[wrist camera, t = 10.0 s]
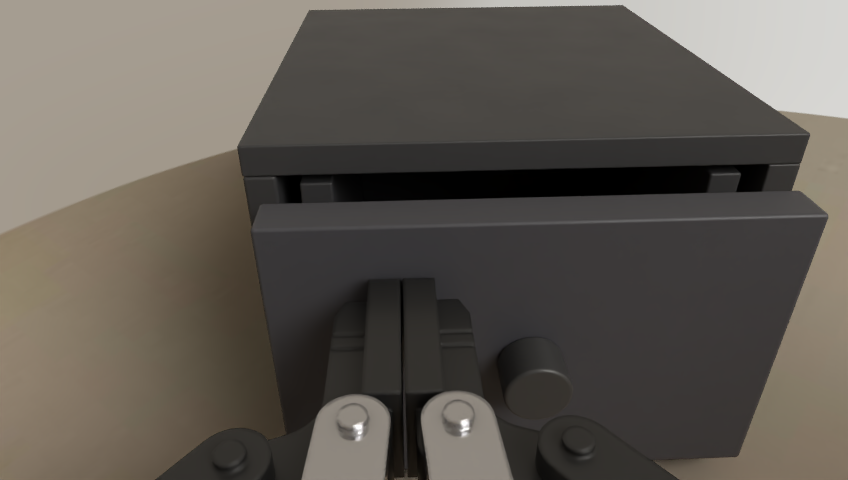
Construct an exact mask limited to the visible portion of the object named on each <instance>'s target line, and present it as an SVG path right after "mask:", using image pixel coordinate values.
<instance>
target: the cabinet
mask: <svg viewBox="0 0 848 480" xmlns="http://www.w3.org/2000/svg"><path fill="white" fill-rule="evenodd" d="M809 137H810V133H809V132H807V131H806V130H804V129H803V128H801V127H800V126H798V125H797V124H795V123H794V122H792V121H791V120H790V119H788V118H787V117H785V116H784V115H782V114H781V113H779V112H778V111H776V110H775V109H773V108H772V107H771V106H769V105H768V104H766V103H765V102H763V101H762V100H760V99H759V98H757V97H756V96H754V95H753V94H752V93H750V92H749V91H747V90H746V89H744V88H743V87H741V86H740V85H738V84H737V83H735V82H734V81H732V80H731V79H730V78H728V77H727V76H725V75H724V74H722V73H721V72H719V71H718V70H716V69H715V68H713V67H712V66H711V65H709V64H707V63H706V62H705V61H703V60H702V59H700V58H699V57H697V56H696V55H695V54H693V53H692V52H690V51H689V50H687V49H686V48H684V47H683V46H681V45H680V44H678V43H677V42H675V41H674V40H673V39H671V38H670V37H668V36H667V35H665V34H663V33H662V32H661V31H659V30H658V29H657V28H655V27H654V26H652V25H650V24H649V23H648V22H646V21H645V20H643V19H642V18H641V17H639V16H638V15H636V14H635V13H633V12H632V11H630V10H629V9H627V8H626V7H624V6H623V5H616V6H554V7H553V6H552V7H551V6H550V7H495V8H494V7H491V8H488V7H487V8H426V9H425V8H424V9H365V10H363V9H361V10H309V12H308V13H307V16H306V17H305V19H304V21H303V23H302V25H301V27H300V29H299V31H298V33H297V34H296V36H295V38H294V40H293V42H292V44H291V46H290V48H289V50H288V51H287V53H286V55H285V57H284V59H283V61H282V63H281V65H280V67H279V69H278V71H277V73H276V74H275V76H274V78H273V80H272V82H271V84H270V86H269V88H268V90H267V91H266V94H265V95H264V97H263V99H262V101H261V103H260V105H259V107H258V109H257V110H256V112H255V114H254V116H253V118H252V120H251V122H250V124H249V126H248V128H247V129H246V131H245V133H244V135H243V137H242V139H241V141H240V143H239V145H238V147H237V148H238V154H239V160H240V166H241V171H242V175H243V176H244V179H243V180H244V186H245V192H246V197H247V203H248V209H249V214H250V220H251V226H253V223H254V220H255V218H256V215H257V212H258V210H259V207H260V205H262V204H288V203H302V199H301V191H300V182H301V179H302V175H330V174H372V173H414V172H457V171H499V170H541V169H583V168H625V167H668V166H710V165H733V166H734V167H735V168H736V169H737V170H738V171H739V172H740V173H741V176H740V179H739V183H738V187H737V190H736V192H767V191H792V188H793V185H794V182H795V179H796V176H797V173H798V170H799V167H800V164H799V163H801V161H802V158H803V155H804V152H805V149H806V146H807V143H808V140H809Z"/></svg>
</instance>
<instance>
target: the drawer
mask: <svg viewBox="0 0 848 480" xmlns="http://www.w3.org/2000/svg"><path fill="white" fill-rule="evenodd" d="M740 176H741V173H740V172H739V171H738V170H737V169H736V168H735V167H734V166H733V165H710V166H668V167H625V168H583V169H541V170H499V171H457V172H414V173H372V174H330V175H302V179H301V182H300V191H301V199H302V203H288V204H262V205H260V207H259V210H258V212H257V215H256V218H255V220H254V223H253V226H252V228H251V237H252V243H253V248H254V254H255V260H256V265H257V271H258V277H259V283H260V288H261V294H262V300H263V305H264V311H265V317H266V322H267V328H268V334H269V339H270V345H271V351H272V356H273V362H274V368H275V373H276V379H277V385H278V391H279V396H280V402H281V408H282V413H283V419H284V425H285V430H286V435H287V434H290V433H293V432H295V431H297V430H299V429H301V428H303V427H304V426H306V425H307V424H309V423H310V422H311V421H312V420H313V419H314V418H315V417H316V416H317V414H318V413H319V411H320V409H321V407H322V405H323V400H324V393H325V385H326V377H327V370H328V362H329V354H330V346H331V338H332V331H333V323H334V317H335V315H336V314H337V313H338V311H339V310H340V309H341V307H342V306H343V305H344V303H345V302H367V293H368V280H369V279H398V278H400V288H401V319H402V354H403V413H404V469H408V464H407V431H406V399H405V354H404V305H403V278H435V287H436V298H437V300H440V299H459V300H460V302H461V303H462V304H463V305H464V306H465V308H466V309H467V310H468V311H469V312H470V316H471V322H472V328H473V334H474V340H475V347H476V353H477V359H478V365H479V371H480V377H481V383H482V389H483V395H484V399H485V400H486V401H487V402H488V403H489V404H490V405H491V407H492V408H493V410H494V413H495V414H496V415H497V416H498V417H500V418H501V419H503V420H505V421H507V422H509V423H511V424H514V425H517V426H521V427H525V428H529V429H534V430H538V431H540V430H541V428H542V427H543V426H544V425H545V424H546V423H547V422H548V421H550V420H551V419H553V418H556V417H559V416H564V415H577V416H582V417H586V418H589V419H591V420H594V421H596V422H597V423H599V424H601V425H602V426H604V427H605V428H606V429H608V430H609V431H611V432H612V433H614V434H615V435H616V436H618V437H619V438H621V439H622V440H623V441H625V442H626V443H628V444H629V445H631V446H632V447H633V448H635V449H636V450H638V451H639V452H640V453H642V454H643V455H645V456H646V457H648V458H649V459H650V460H667V459H693V458H719V457H737V456H738V455H739V452H740V450H741V447H742V444H743V442H744V439H745V437H746V434H747V431H748V429H749V426H750V423H751V421H752V418H753V415H754V413H755V410H756V407H757V405H758V402H759V399H760V397H761V394H762V392H763V389H764V386H765V384H766V381H767V378H768V376H769V373H770V370H771V368H772V365H773V362H774V360H775V357H776V355H777V352H778V349H779V347H780V344H781V341H782V339H783V336H784V333H785V331H786V328H787V325H788V323H789V320H790V317H791V315H792V312H793V310H794V307H795V304H796V302H797V299H798V296H799V294H800V291H801V288H802V286H803V283H804V280H805V278H806V275H807V272H808V270H809V267H810V265H811V262H812V259H813V257H814V254H815V251H816V249H817V246H818V243H819V241H820V238H821V235H822V233H823V230H824V228H825V225H826V222H827V220H828V214H827V213H826V212H825V211H824V210H822V209H821V208H820V207H819V206H818V205H817V204H815V203H814V202H813V201H812V200H811V199H809V198H808V197H807V196H806V195H805V194H803V193H802V192H801V191H767V192H736V190H737V187H738V183H739V179H740Z"/></svg>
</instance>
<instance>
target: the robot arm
mask: <svg viewBox="0 0 848 480" xmlns="http://www.w3.org/2000/svg"><path fill="white" fill-rule="evenodd" d="M403 305H404V354H405V399H406V431H407V464H408V477H418V480H679V479H677V478H676V477H674V476H673V475H672V474H670V473H669V472H667V471H666V470H664V469H663V468H662V467H660V466H659V465H657V464H656V463H655V462H653V461H652V460H650V459H649V458H648V457H646V456H645V455H643V454H642V453H640V452H639V451H638V450H636V449H635V448H633V447H632V446H631V445H629V444H628V443H626V442H625V441H623V440H622V439H621V438H619V437H618V436H616V435H615V434H614V433H612V432H611V431H609V430H608V429H606V428H605V427H604V426H602V425H601V424H599V423H597V422H596V421H594V420H591V419H589V418H586V417H582V416H577V415H564V416H559V417H556V418H553V419H551V420H550V421H548V422H547V423H546V424H545V425H544V426H543V427H542V428H541V430H540V431H538V430H534V429H529V428H525V427H521V426H517V425H514V424H511V423H509V422H507V421H505V420H503V419H501V418H500V417H498V416H497V415H496V414H495V413H494V410H493V408H492V407H491V405H490V404H489V403H488V402H487V401H486V400H485V399H484V395H483V389H482V383H481V377H480V371H479V365H478V359H477V353H476V347H475V340H474V334H473V328H472V322H471V316H470V312H469V311H468V310H467V309H466V308H465V306H464V305H463V304H462V303H461V302H460V300H459V299H440V300H437V298H436V287H435V278H403ZM396 477H405V474H404V413H403V354H402V319H401V288H400V278H398V279H369V280H368V293H367V302H345V303H344V305H343V306H342V307H341V309H340V310H339V311H338V313H337V314H336V315H335V317H334V323H333V331H332V338H331V346H330V354H329V362H328V370H327V377H326V385H325V393H324V400H323V405H322V407H321V409H320V411H319V413H318V414H317V416H316V417H315V418H314V419H313V420H312V421H311V422H310V423H309V424H307V425H306V426H304V427H303V428H301V429H299V430H297V431H295V432H293V433H290V434H287V435H284V436H281V437H278V438H274V439H271V440H267V439H266V438H265V437H264V436H263V435H262V434H261V433H259V432H257V431H255V430H251V429H246V428H235V429H229V430H225V431H222V432H219V433H217V434H215V435H213V436H211V437H209V438H208V439H207V440H205V441H204V442H203V443H201V444H200V445H199V446H197V447H196V448H195V449H194V450H192V451H191V452H190V453H189V454H187V455H186V456H185V457H183V458H182V459H181V460H180V461H178V462H177V463H176V464H175V465H173V466H172V467H171V468H169V469H168V470H167V471H166V472H164V473H163V474H162V475H161V476H159V477H158V478H157V479H156V480H394V478H396Z"/></svg>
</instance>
